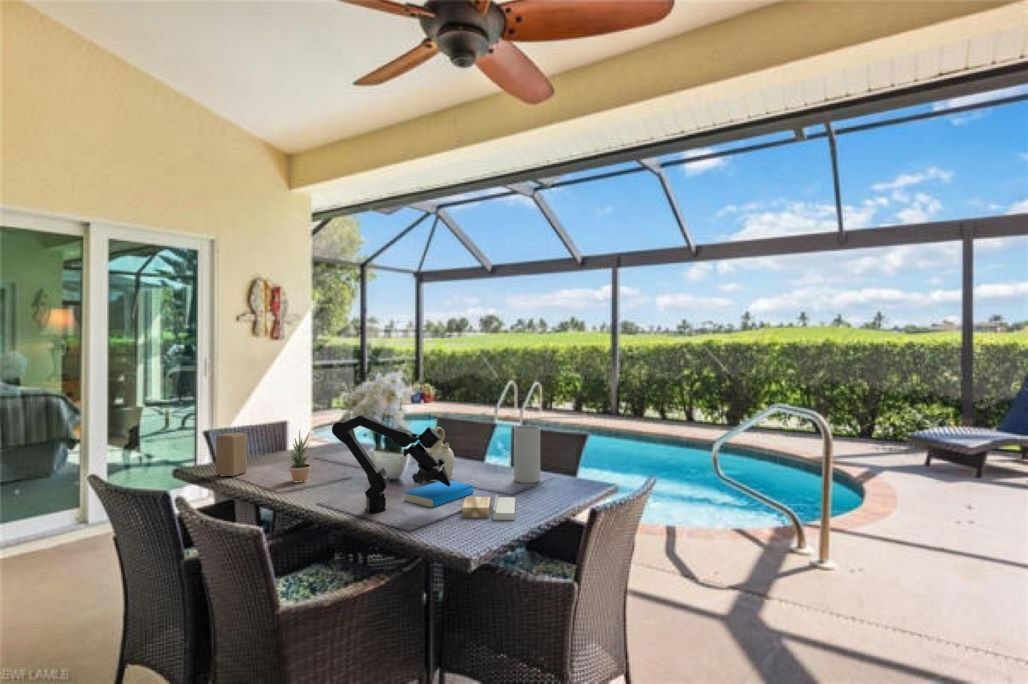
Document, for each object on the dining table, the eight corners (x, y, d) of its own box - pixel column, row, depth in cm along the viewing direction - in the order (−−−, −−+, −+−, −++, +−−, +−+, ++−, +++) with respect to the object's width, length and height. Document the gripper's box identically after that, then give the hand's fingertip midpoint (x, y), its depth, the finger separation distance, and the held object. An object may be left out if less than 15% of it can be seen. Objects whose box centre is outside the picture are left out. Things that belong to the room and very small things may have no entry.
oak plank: (462, 507, 207) (488, 507, 207) (465, 496, 221) (490, 496, 221) (462, 518, 207) (488, 518, 207) (465, 506, 221) (490, 506, 221)
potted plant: (314, 478, 263) (314, 427, 262) (305, 484, 253) (305, 430, 253) (294, 478, 264) (294, 426, 263) (284, 483, 254) (284, 430, 254)
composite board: (492, 519, 204) (492, 510, 204) (495, 503, 224) (495, 494, 224) (514, 519, 203) (514, 510, 203) (515, 503, 223) (515, 495, 223)
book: (403, 492, 228) (444, 478, 248) (403, 502, 228) (444, 488, 248) (434, 498, 218) (473, 484, 239) (434, 509, 218) (473, 494, 239)
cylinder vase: (530, 485, 252) (530, 430, 252) (508, 480, 259) (508, 428, 259) (545, 479, 262) (545, 427, 262) (524, 475, 269) (524, 424, 269)
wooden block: (215, 476, 267) (215, 435, 267) (231, 471, 276) (231, 432, 276) (231, 477, 264) (231, 436, 264) (247, 473, 273) (247, 433, 273)
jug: (416, 478, 264) (416, 426, 264) (444, 473, 274) (444, 423, 274) (431, 484, 252) (431, 430, 252) (460, 479, 262) (460, 427, 262)
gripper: (412, 465, 223) (438, 493, 223) (402, 476, 205) (430, 507, 205) (431, 446, 223) (458, 474, 223) (423, 456, 205) (452, 486, 204)
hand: (449, 485), depth 214 cm, fingers closed
